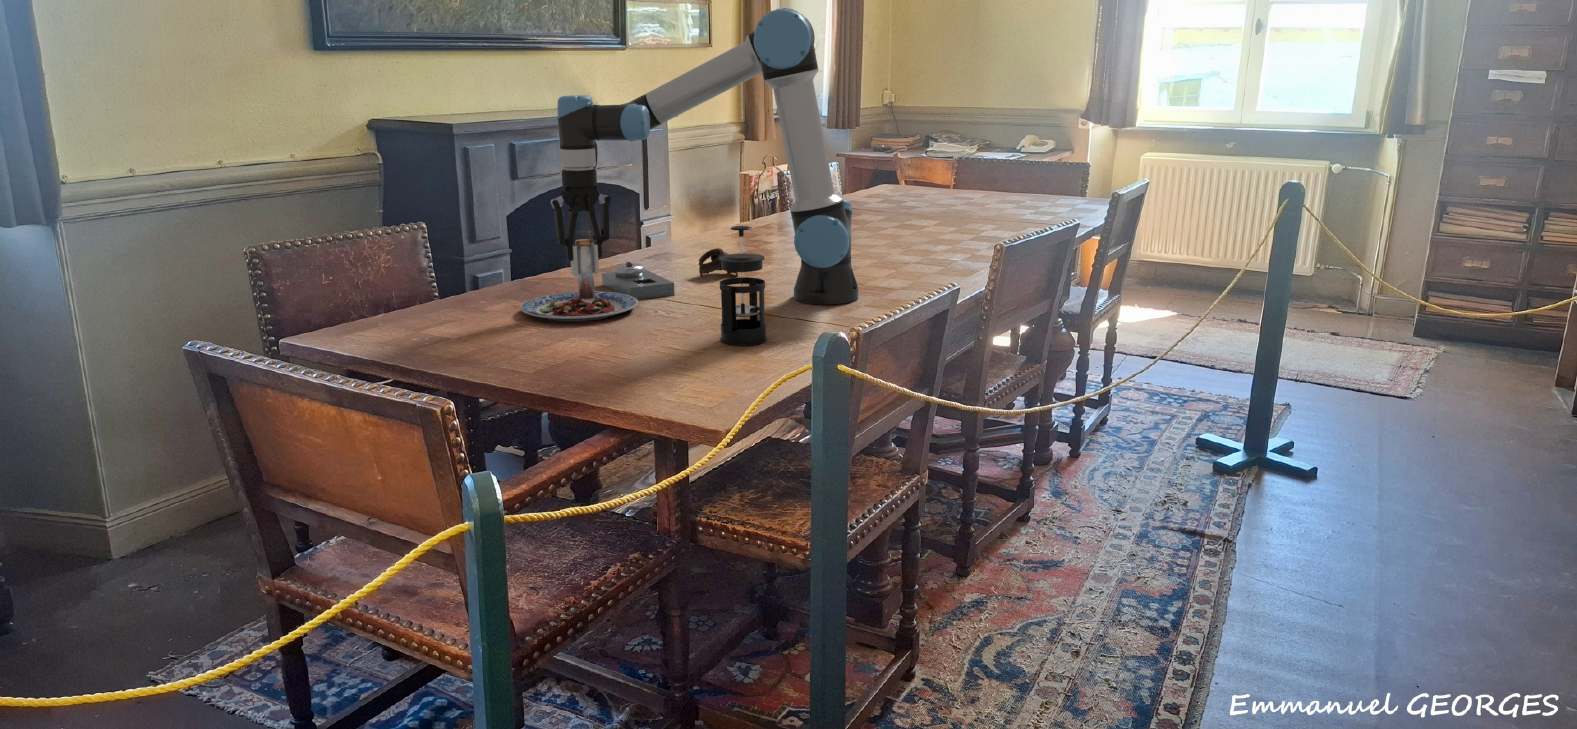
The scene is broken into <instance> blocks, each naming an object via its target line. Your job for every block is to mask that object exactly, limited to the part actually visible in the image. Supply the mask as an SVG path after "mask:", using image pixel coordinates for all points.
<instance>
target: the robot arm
mask: <svg viewBox="0 0 1577 729" xmlns="http://www.w3.org/2000/svg"><path fill="white" fill-rule="evenodd" d="M817 60H818V58H817V54H816V50H815V31H814V28H813V25H812V24H811V22H810V21H809V19H808V18H807V17H806V16H805V15H803V14H802V13H800V12H799V11H797V10H794V9H793V8H787V7H782V8H776V9H774V10H770V11H769V12H767V13H766V14H764V15H763V16H762V17H761V19H760V20H759V21H758V23H757V24H756V26H755V29H754V31H752V32H751V33H749V34H747V35H746V38H745V41H743V42H742V43H741V44H738V45H736V46H734V47H732V48H730V49H729V50H726V51H725V52H723V53H721V54H719V55H717V56H714V57H713V58H711V59H709V60H708V61H705V62H703V63H701V64H699V65H698V66H696V67H694V68H692V69H691V70H689V71H686V72H685V73H683V74H681V75H678V76H676V77H675V78H673V79H671V80H670V81H667V82H665V83H664V84H661V85H660V86H658V87H655V88H654V89H652V90H650V91H649V92H647V93H645V94H643V95H641V96H638V97H636V98H634V99H633V100H631V101H629V102H626V103H622V104H603V105H601V104H594V102H593V98H592V97H591V96H590V95H579V94H578V95H576V94H575V95H572V94H571V95H561V96H560V97H559V98H558V99H557V117H556V119H557V126H558V138H559V139H558V140H559V153H560V154H559V155H560V167H561V168H563V169H562V170H561V183H562V184H561V186H562V191H561V193H560V196H557V197H555V198H551V199H550V200H549V204H550V205H551V208H552V210H553V219H554V220H553V221H554V229H555V230H554V231H555V240H556V242H557V243H558V244H560V245H563V246H565V258H566V260H567V261H569V262H570V268H571V269H570V270H571V271H570V273H571V274H572V275H573V276H575V277H578V276H579V275H578V260H577V247H576V245H574V241H575V234H576V233H575V232H576V226H577V219H578V216H579V212H582V211H584V212H585V214H586V218H587V221H588V225H589V229H590V233H591V236H592V239H593V242H591V244H592V260H593V274H597V275H598V274H600V268H599V267H600V264H599V259H601V258H602V256H603V250H602V249H603V247H602V245H603V243H604V242H605V241H609V239H610V204H611V200H612V197H611V196H610V195H606V194H601V192H600V191H599V189H598V177H597V170H596V168H594V167H596V165H597V160H596V144H595V143H596V142H595V141H629V142H635V141H644V140H647V138H649V134H650V132H651V130H653V129H655V128H657V127H659V126H660V125H662V124H664V123H667V122H669V121H670V120H672V119H674V118H675V117H678V116H680V115H682V114H684V113H686V112H688V111H691V110H692V109H693V108H697V106H699V105H701V104H704V103H706V102H708V101H709V100H712V99H714V98H715V97H717V96H719V95H721V94H724V93H725V92H728V91H729V90H731V89H733V88H736V87H737V86H739V85H741V84H743V83H745V82H747V81H748V80H750V79H752V78H755V77H756V76H758V75H762V77H763V81H764V83H765V84H767V85H769V87H771V88H772V89H773V94H774V99H775V104H776V111H777V114H778V119H779V123H780V124H779V125H780V130H781V134H782V140H783V146H784V150H785V155H786V159H787V160H786V161H787V165H788V169H789V174H790V179H791V180H790V181H791V184H792V190H793V196H794V202H793V204H792V205H791V207H790V208H789V209H790V210H789V211H790V215H791V220H792V225H793V226H792V227H793V230H794V237H793V239H794V241H793V244H794V248H795V251H796V253H797V255H798V256H799V258H800V268H799V271H798V274H797V276H796V277H797V278H796V280H795V284H794V287H793V299H794V300H795V301H797V302H801V303H805V304H811V305H841V304H847V303H852V302H855V301H857V300H858V299H859V287H858V286H859V285H858V283H857V279H856V277H855V274H854V270H853V268H852V215H853V210H852V203H851V201H850V200H847V199H843V197H842V196H840V195H839V194H837V193H836V192H835V188H834V184H833V178H832V173H831V168H830V162H829V158H828V152H827V146H826V141H825V138H824V137H825V135H824V130H823V126H822V120H821V116H820V110H819V105H818V99H817V95H816V88H815V83H814V78H815V77H816V76H817V73H818V72H819V66H818V61H817ZM563 202H564V204H565V205H566V206H567V207H568V208H567V222H566V228H565V229H566V230H565V229H564V219H563V217H564V216H563V211H562V207H563ZM597 202H598V204H600V205H599V215H600V216H599V217H600V218H599V220H600V228H599V224H598V221H597V217H596V211H595V204H596V203H597Z"/></svg>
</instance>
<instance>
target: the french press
mask: <svg viewBox="0 0 1577 729" xmlns="http://www.w3.org/2000/svg"><path fill="white" fill-rule="evenodd" d="M730 230H731V231H738V237H740V240H739V241H740V253H733V254H732V253H731V254H729V253H728V254H729V255H724V256H721V257H719V260H720V261H721V266H722V270H721V271H725V272H727V271H729V272H738V273H741V274H740V277H739V276H738V277H730V278H725V279H722V280H720V281H719V290H720V295H721V323H720V338H719V339H720V340H719V341H720V343H721V344H724V345H726V346H731V347H752V346H759V345H762V344H765V343H766V342H767V341H768V337H767V335H766V334H767V333H766V332H767V329H766V328H767V327H766V326H767V325H766V319H765V289H766V281H765V279H762V278H759V277H749V276H746V277H744V273H750V272H751V273H752V272H757V271H761V270H762V269H763V261H764V260H765V258H766V257H765V256H764V255H762V254H756V253H747V252H746V253H743V252H744V251H743V238H744V236H745V235H744V232H745V231H749V230H752V227H751V226H749V225H735V226H731V227H730ZM744 284H745V286H744ZM737 285H739V286H737ZM747 285H748V286H747ZM758 292H759V293H758ZM736 294H741V303H740V304H737V295H736ZM744 294H748V295H749V296H748V297H749V298H748V299H749V302H748V303H749V304H745V303H744V302H745V301H744V299H745V298H744V297H745V296H744ZM758 294H759V295H758ZM758 296H759V299H758ZM758 300H759V301H758ZM758 303H759V304H758ZM758 316H759V319H758ZM747 317H748V318H747ZM738 318H739V319H738Z"/></svg>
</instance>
